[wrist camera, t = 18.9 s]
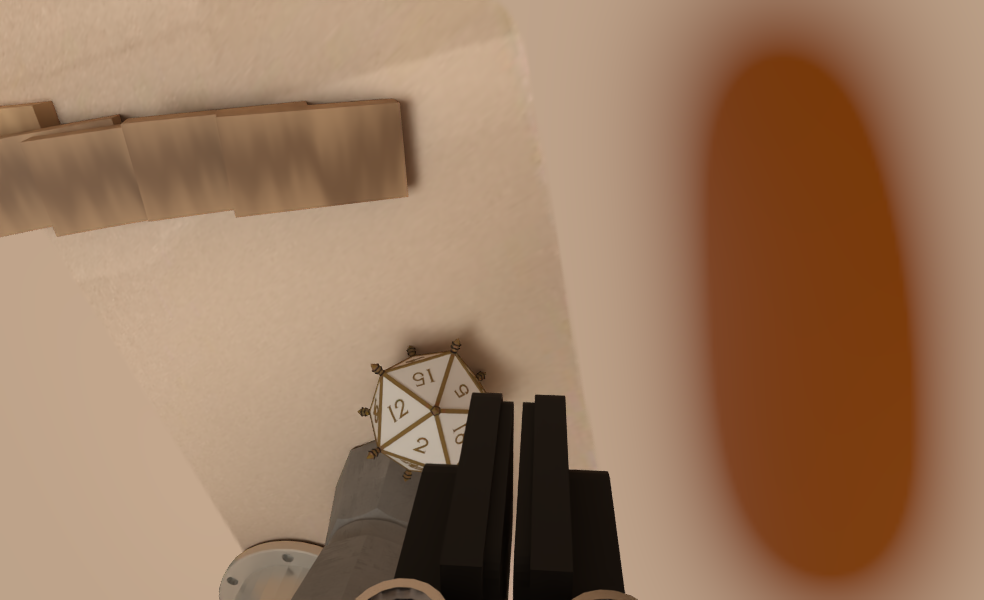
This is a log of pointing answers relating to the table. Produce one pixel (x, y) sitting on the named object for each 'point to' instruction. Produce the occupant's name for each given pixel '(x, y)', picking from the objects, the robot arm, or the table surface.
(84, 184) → the domino
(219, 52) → the table surface
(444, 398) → the game die
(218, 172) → the domino
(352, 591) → the coffeepot
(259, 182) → the domino
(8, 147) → the domino
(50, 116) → the domino
